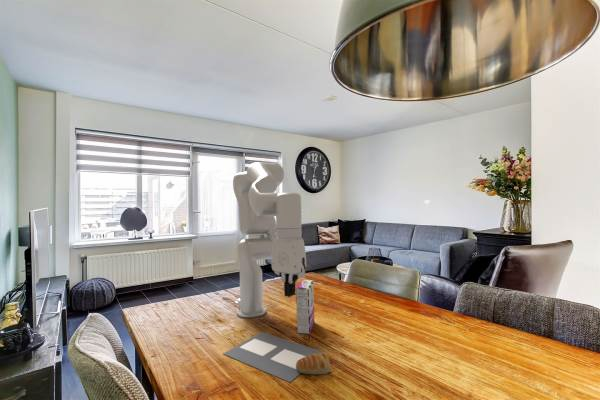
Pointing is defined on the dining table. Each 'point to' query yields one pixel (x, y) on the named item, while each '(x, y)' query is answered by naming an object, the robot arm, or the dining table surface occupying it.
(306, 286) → the candy bar box
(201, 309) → the dining table surface
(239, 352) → the label mat
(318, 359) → the pastry
